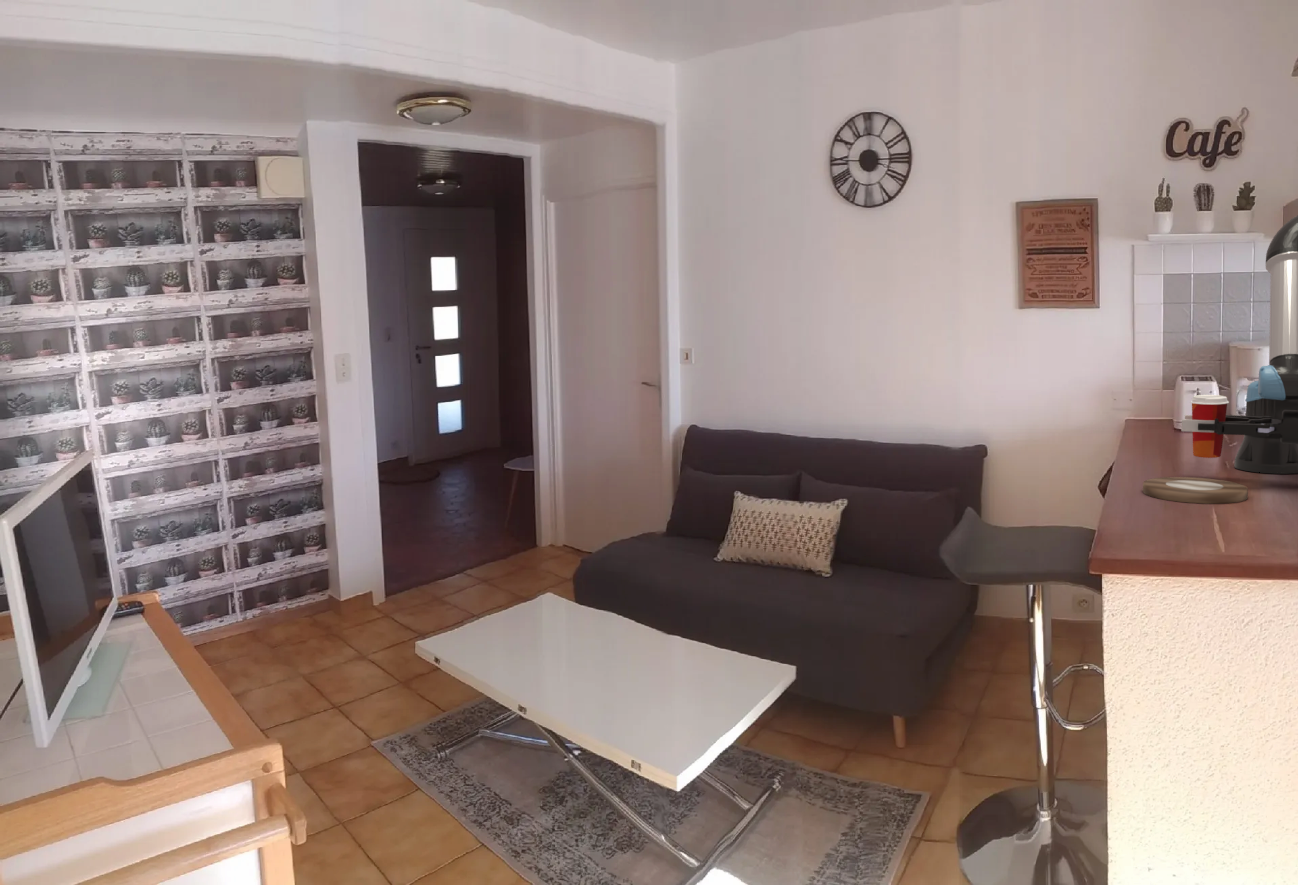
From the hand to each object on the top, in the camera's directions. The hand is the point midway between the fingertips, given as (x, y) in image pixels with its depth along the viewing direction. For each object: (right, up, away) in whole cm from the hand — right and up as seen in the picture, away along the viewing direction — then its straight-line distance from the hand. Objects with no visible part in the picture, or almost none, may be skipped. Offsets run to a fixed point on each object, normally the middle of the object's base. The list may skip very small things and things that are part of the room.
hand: (1183, 423), depth 217 cm
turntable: (-6, -16, -14) cm, 22 cm away
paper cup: (+5, -8, -2) cm, 9 cm away
